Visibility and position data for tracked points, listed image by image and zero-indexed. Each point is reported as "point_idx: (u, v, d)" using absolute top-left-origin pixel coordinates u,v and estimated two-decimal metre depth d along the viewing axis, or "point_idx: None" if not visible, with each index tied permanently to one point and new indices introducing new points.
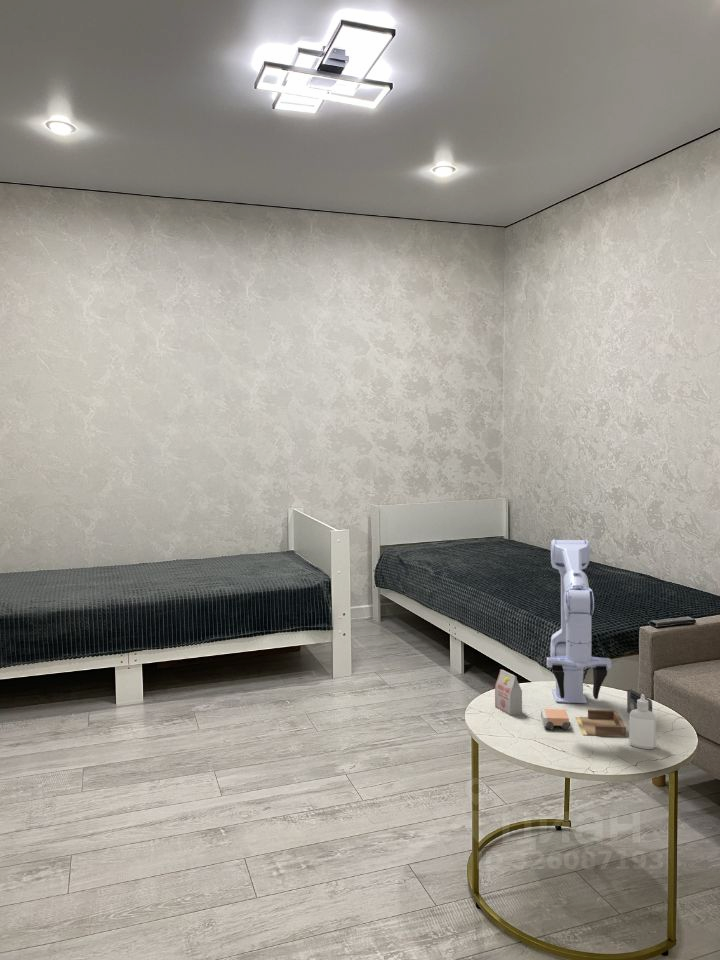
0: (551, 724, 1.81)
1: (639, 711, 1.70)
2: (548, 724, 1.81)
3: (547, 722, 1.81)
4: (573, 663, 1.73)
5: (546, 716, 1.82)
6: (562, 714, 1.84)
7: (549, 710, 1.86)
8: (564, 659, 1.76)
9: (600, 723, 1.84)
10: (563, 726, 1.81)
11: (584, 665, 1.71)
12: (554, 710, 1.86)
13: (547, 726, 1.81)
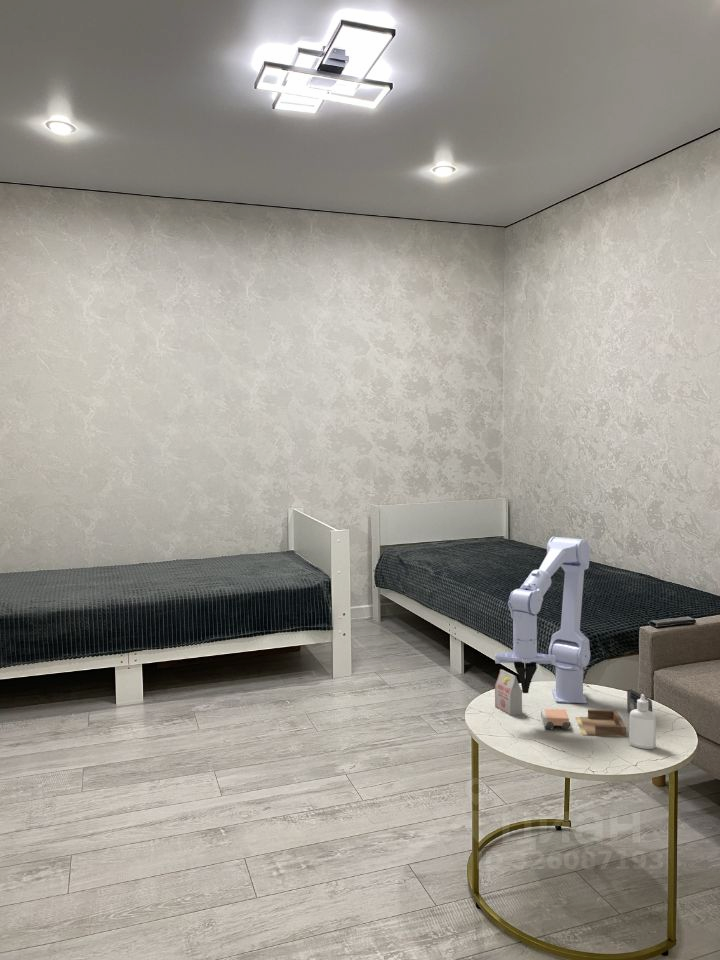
0: (551, 724, 1.81)
1: (639, 711, 1.70)
2: (548, 724, 1.81)
3: (547, 722, 1.81)
4: (519, 659, 1.82)
5: (546, 716, 1.82)
6: (562, 714, 1.84)
7: (549, 710, 1.86)
8: (511, 655, 1.84)
9: (600, 723, 1.84)
10: (563, 726, 1.81)
11: (529, 661, 1.80)
12: (554, 710, 1.86)
13: (547, 726, 1.81)
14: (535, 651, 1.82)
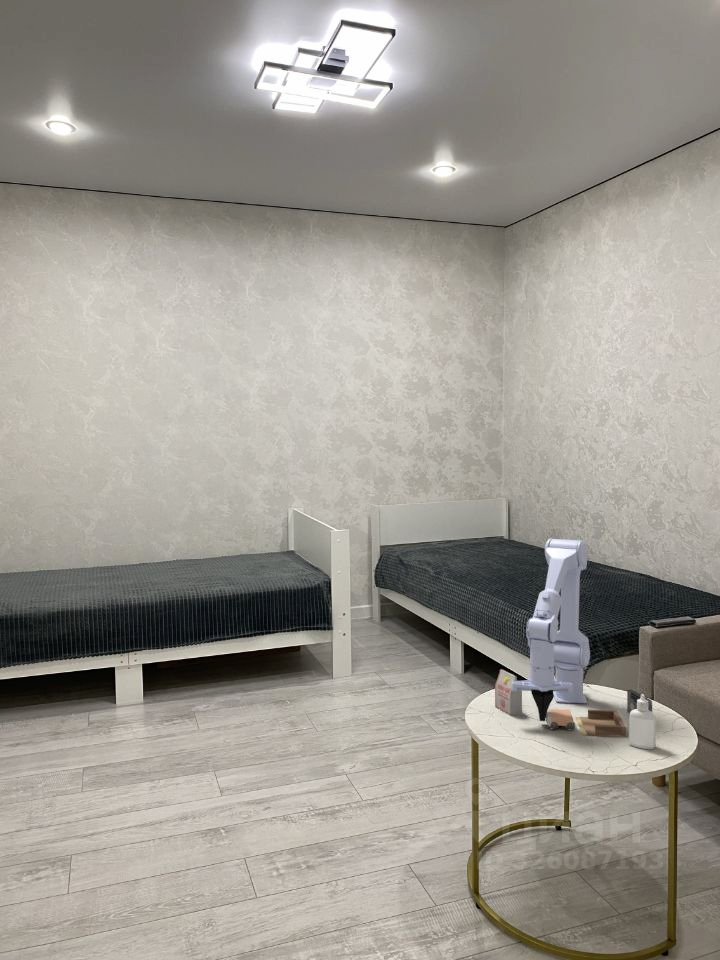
0: (555, 724, 1.81)
1: (639, 711, 1.70)
2: (552, 724, 1.81)
3: (551, 722, 1.81)
4: (536, 687, 1.82)
5: (550, 716, 1.82)
6: (566, 714, 1.83)
7: (553, 710, 1.86)
8: (528, 683, 1.84)
9: (600, 723, 1.84)
10: (567, 726, 1.81)
11: (546, 689, 1.80)
12: (558, 710, 1.86)
13: (551, 726, 1.81)
14: (552, 679, 1.82)
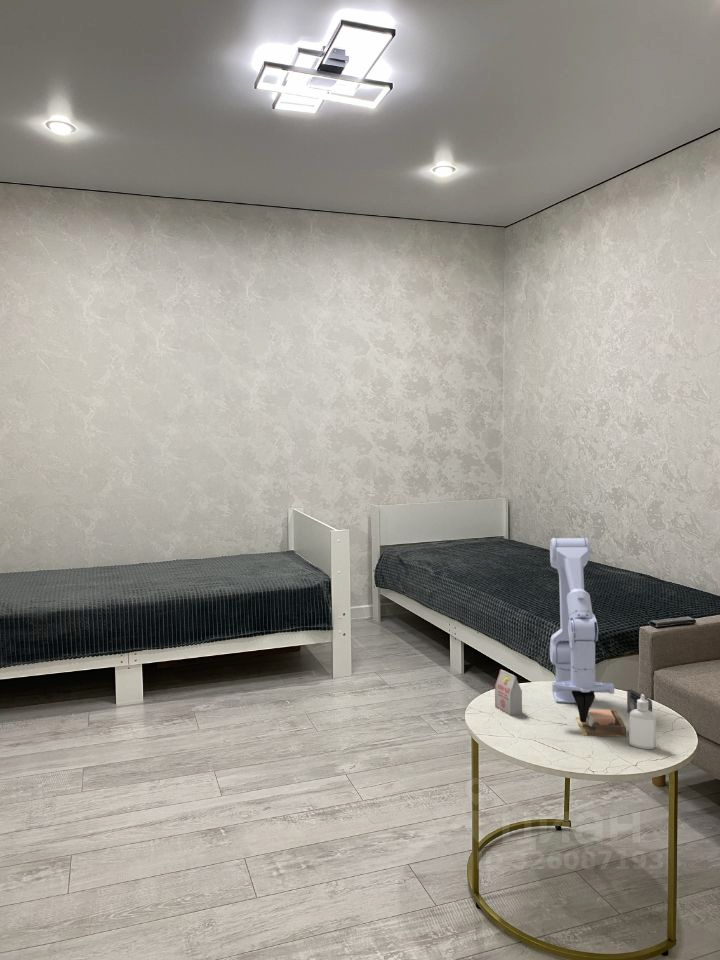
0: (597, 724, 1.80)
1: (639, 711, 1.70)
2: (594, 724, 1.80)
3: (593, 722, 1.80)
4: (577, 688, 1.80)
5: (591, 717, 1.81)
6: (608, 714, 1.82)
7: (594, 710, 1.85)
8: (569, 684, 1.83)
9: None
10: None
11: (588, 690, 1.79)
12: (599, 710, 1.85)
13: (593, 726, 1.80)
14: (593, 680, 1.81)
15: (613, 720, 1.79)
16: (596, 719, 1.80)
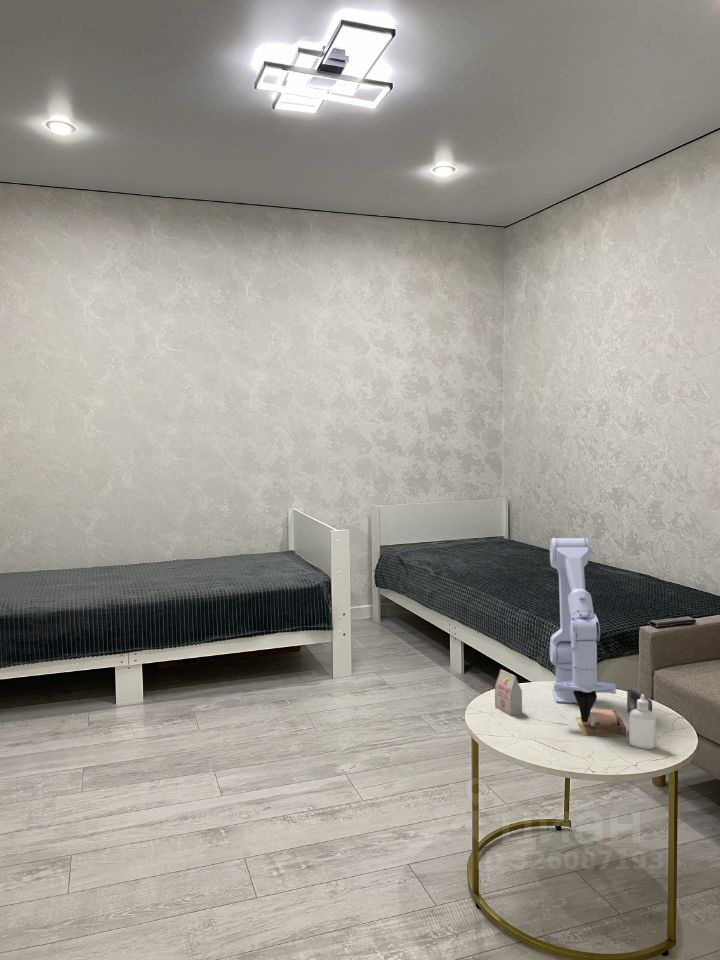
0: None
1: (639, 711, 1.70)
2: None
3: (595, 723, 1.80)
4: (579, 688, 1.80)
5: (593, 717, 1.81)
6: (610, 714, 1.82)
7: (596, 710, 1.85)
8: (570, 684, 1.83)
9: None
10: None
11: (590, 691, 1.79)
12: (601, 710, 1.85)
13: None
14: (595, 680, 1.81)
15: (615, 720, 1.79)
16: (598, 719, 1.80)
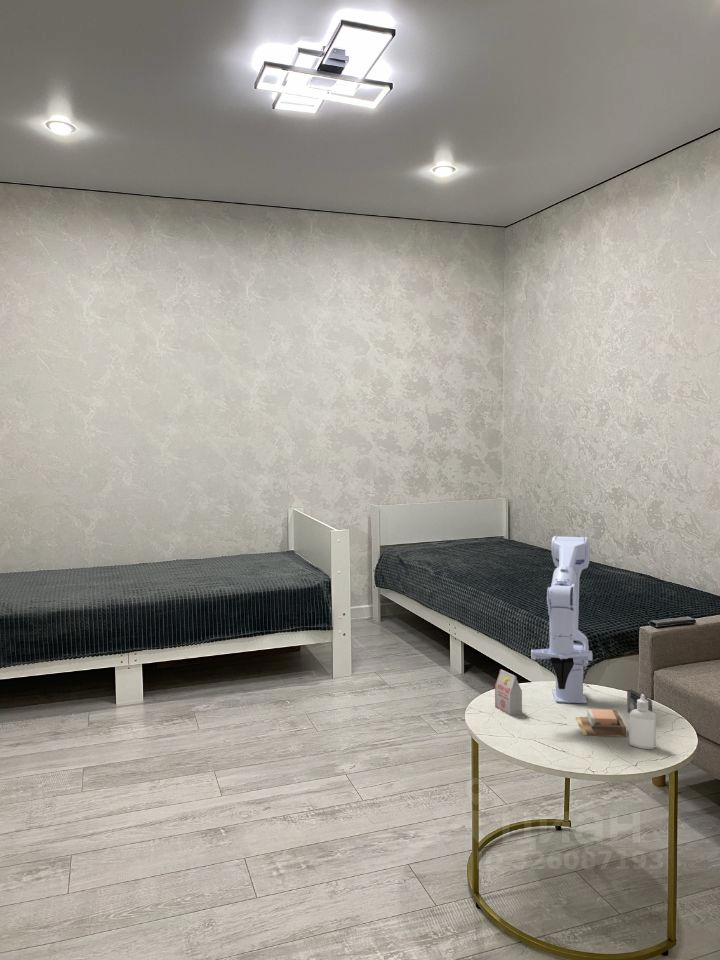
0: None
1: (639, 711, 1.70)
2: None
3: (595, 723, 1.80)
4: (556, 655, 1.81)
5: (593, 717, 1.81)
6: (610, 714, 1.82)
7: (596, 710, 1.85)
8: (547, 651, 1.84)
9: None
10: None
11: (566, 657, 1.79)
12: (601, 710, 1.85)
13: None
14: (572, 647, 1.82)
15: (615, 720, 1.79)
16: (598, 719, 1.80)
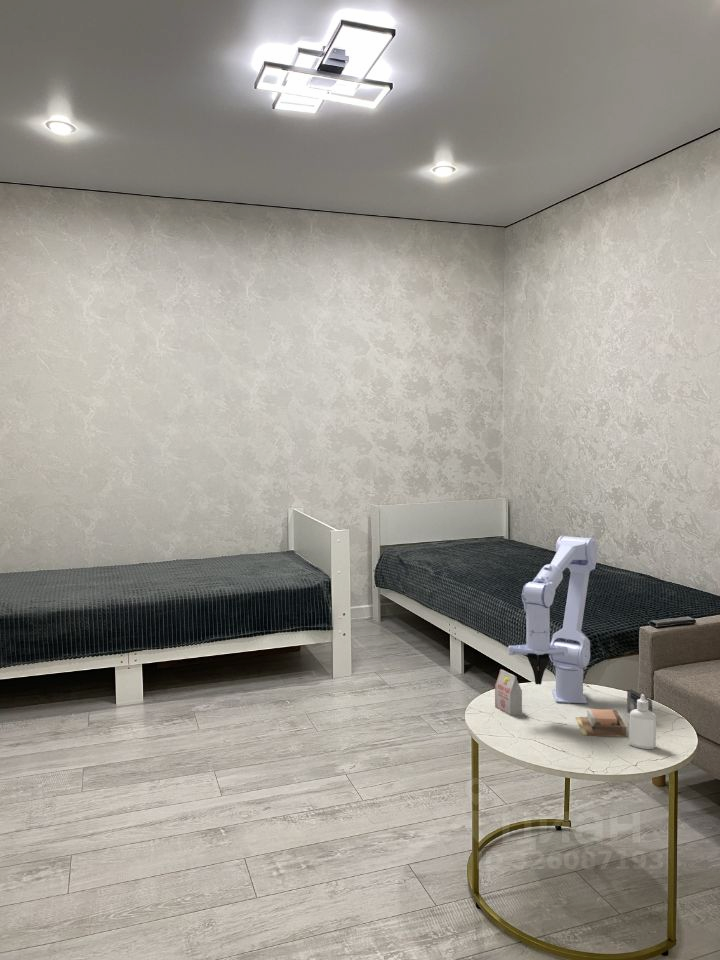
0: None
1: (639, 711, 1.70)
2: None
3: (595, 723, 1.80)
4: (532, 651, 1.85)
5: (593, 717, 1.81)
6: (610, 714, 1.82)
7: (596, 710, 1.85)
8: (524, 647, 1.87)
9: None
10: None
11: (542, 653, 1.83)
12: (601, 710, 1.85)
13: None
14: (548, 643, 1.85)
15: (615, 720, 1.79)
16: (598, 719, 1.80)
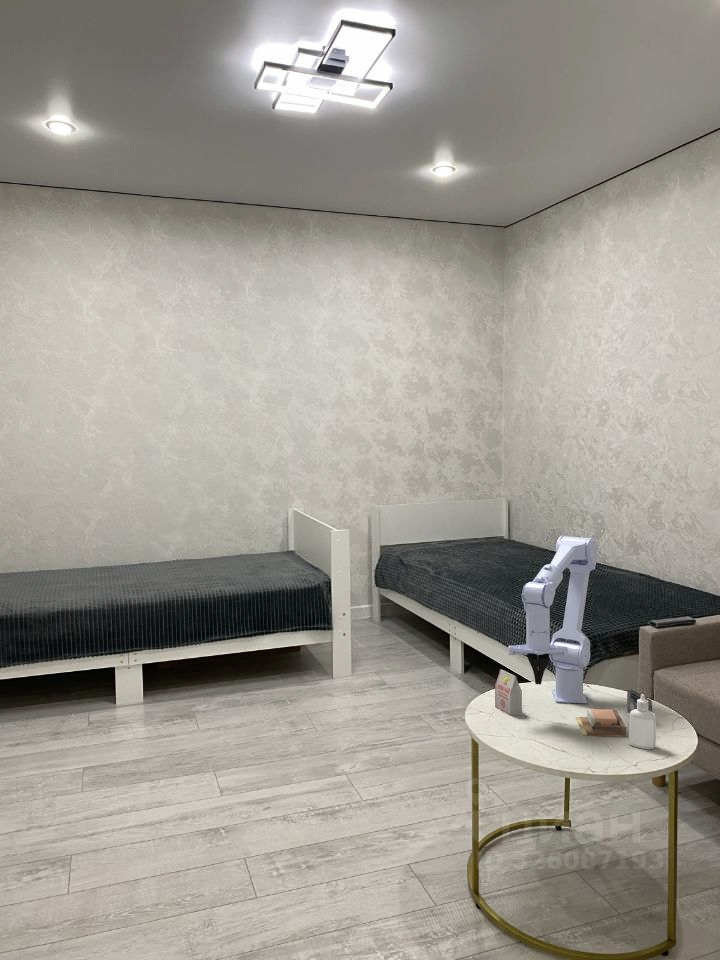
0: None
1: (639, 711, 1.70)
2: None
3: (595, 723, 1.80)
4: (532, 651, 1.85)
5: (593, 717, 1.81)
6: (610, 714, 1.82)
7: (596, 710, 1.85)
8: (524, 647, 1.87)
9: None
10: None
11: (542, 653, 1.83)
12: (601, 710, 1.85)
13: None
14: (548, 643, 1.85)
15: (615, 720, 1.79)
16: (598, 719, 1.80)
